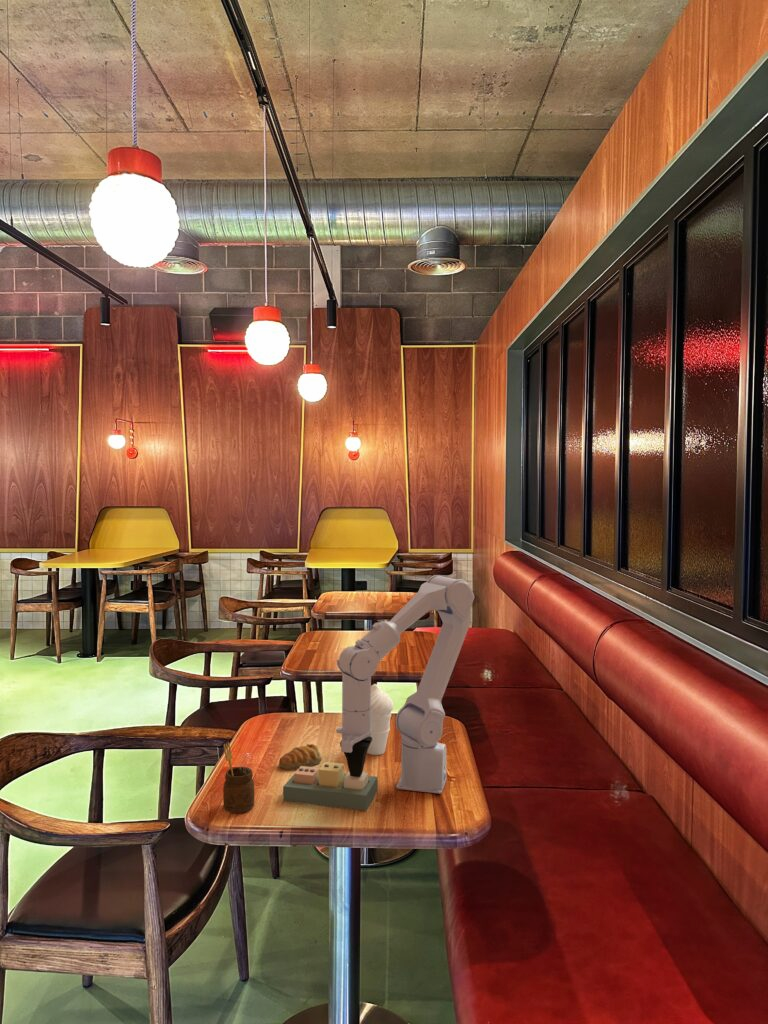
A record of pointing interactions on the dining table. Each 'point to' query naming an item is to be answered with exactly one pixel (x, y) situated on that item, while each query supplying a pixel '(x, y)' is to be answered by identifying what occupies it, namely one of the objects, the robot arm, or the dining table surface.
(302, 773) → the toy block
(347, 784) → the toy block
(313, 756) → the pastry
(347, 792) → the toy block sorting board
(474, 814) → the dining table surface
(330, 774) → the toy block
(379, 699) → the soft serve ice cream cone
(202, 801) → the dining table surface
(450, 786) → the dining table surface
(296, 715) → the dining table surface
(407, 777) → the robot arm
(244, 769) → the utensil holder
